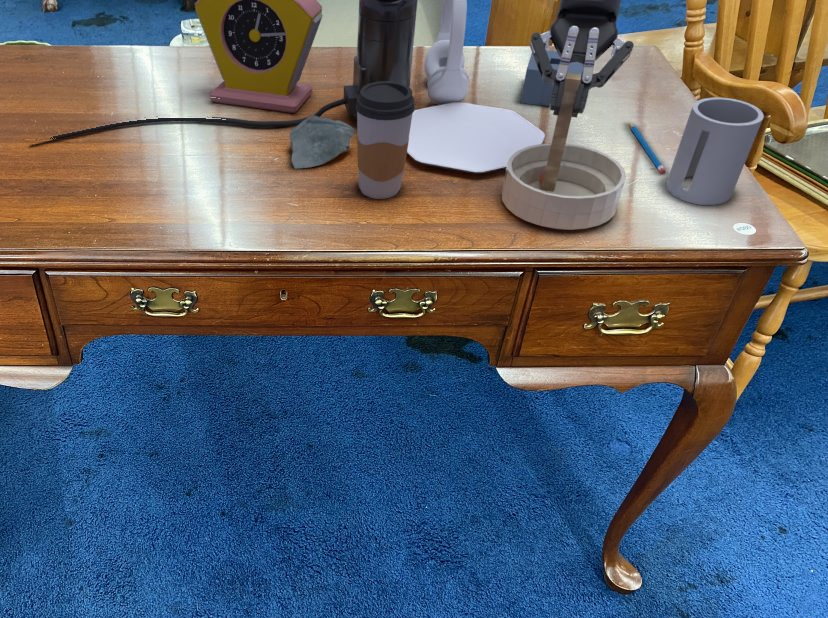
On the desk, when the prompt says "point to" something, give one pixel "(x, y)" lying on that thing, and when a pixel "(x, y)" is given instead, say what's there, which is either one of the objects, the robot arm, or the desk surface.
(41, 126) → the desk surface
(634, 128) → the pencil
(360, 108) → the coffee cup
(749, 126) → the cup
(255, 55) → the yellow mantel clock
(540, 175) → the bead terracotta
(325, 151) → the stone
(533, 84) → the stand
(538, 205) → the bowl
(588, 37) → the robot arm
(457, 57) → the headphones
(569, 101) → the stick
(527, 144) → the plate
